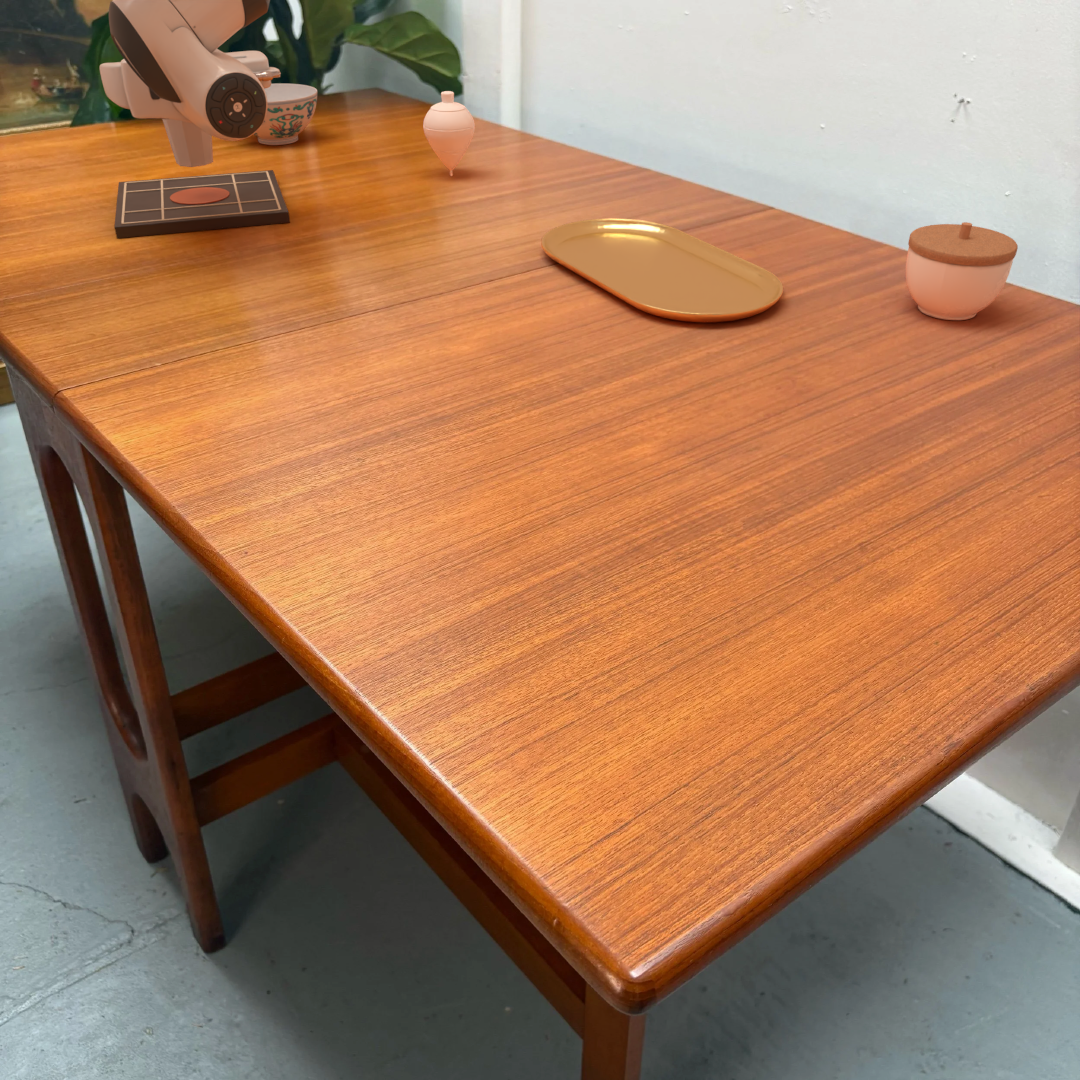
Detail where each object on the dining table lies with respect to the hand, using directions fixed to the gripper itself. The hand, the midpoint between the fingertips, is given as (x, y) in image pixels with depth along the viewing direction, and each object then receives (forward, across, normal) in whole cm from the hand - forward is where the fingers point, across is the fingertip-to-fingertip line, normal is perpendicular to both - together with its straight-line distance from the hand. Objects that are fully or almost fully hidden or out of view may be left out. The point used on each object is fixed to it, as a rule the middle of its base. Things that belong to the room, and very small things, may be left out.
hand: (174, 65), depth 133 cm
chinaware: (+32, -21, +18) cm, 42 cm away
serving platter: (-54, -40, +19) cm, 70 cm away
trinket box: (-79, -61, +19) cm, 102 cm away
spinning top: (-3, -37, +18) cm, 42 cm away
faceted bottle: (-1, 0, +12) cm, 12 cm away
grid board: (0, 0, +18) cm, 18 cm away
